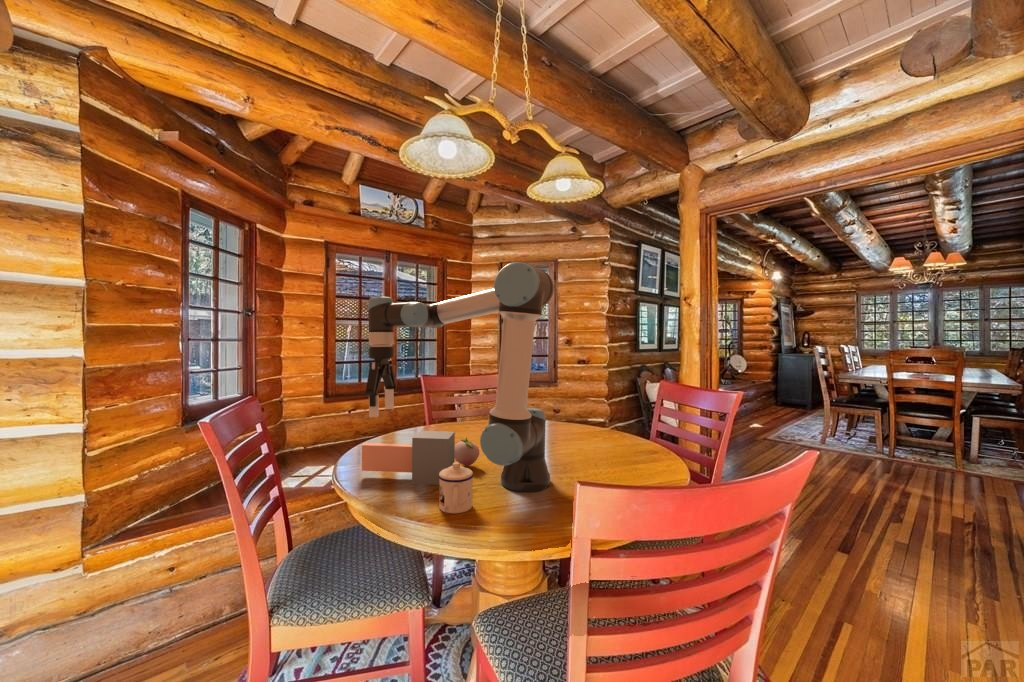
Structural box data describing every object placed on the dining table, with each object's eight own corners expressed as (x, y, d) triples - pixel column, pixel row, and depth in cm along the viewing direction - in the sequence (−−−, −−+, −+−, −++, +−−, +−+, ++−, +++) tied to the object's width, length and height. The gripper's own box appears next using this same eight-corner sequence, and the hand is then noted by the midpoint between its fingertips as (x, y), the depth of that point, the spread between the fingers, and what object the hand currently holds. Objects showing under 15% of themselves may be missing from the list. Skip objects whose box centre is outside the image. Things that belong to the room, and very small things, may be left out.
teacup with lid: (439, 500, 113) (439, 458, 113) (472, 499, 114) (473, 457, 114) (436, 520, 101) (436, 473, 101) (473, 519, 102) (474, 472, 102)
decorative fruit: (447, 465, 142) (448, 436, 142) (468, 461, 147) (468, 433, 147) (462, 473, 135) (462, 442, 134) (483, 468, 140) (483, 438, 140)
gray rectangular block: (454, 474, 133) (454, 431, 133) (447, 485, 124) (448, 438, 124) (420, 473, 134) (420, 430, 134) (411, 483, 125) (411, 437, 125)
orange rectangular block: (416, 469, 131) (416, 444, 130) (413, 472, 128) (413, 446, 128) (365, 468, 132) (365, 443, 132) (361, 470, 129) (361, 445, 129)
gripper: (383, 345, 144) (384, 405, 144) (352, 347, 119) (353, 420, 120) (404, 344, 144) (405, 405, 144) (378, 347, 119) (379, 420, 119)
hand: (382, 412), depth 132 cm, fingers open, 13 cm apart
